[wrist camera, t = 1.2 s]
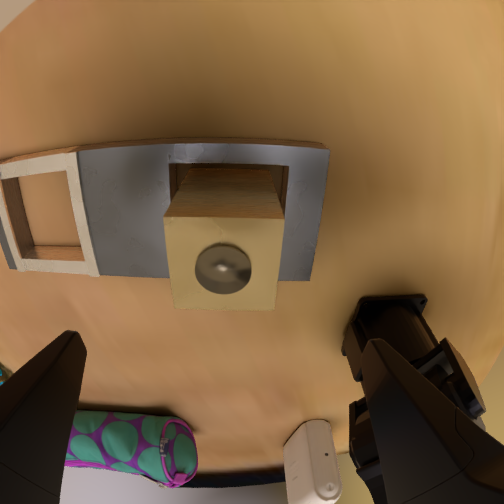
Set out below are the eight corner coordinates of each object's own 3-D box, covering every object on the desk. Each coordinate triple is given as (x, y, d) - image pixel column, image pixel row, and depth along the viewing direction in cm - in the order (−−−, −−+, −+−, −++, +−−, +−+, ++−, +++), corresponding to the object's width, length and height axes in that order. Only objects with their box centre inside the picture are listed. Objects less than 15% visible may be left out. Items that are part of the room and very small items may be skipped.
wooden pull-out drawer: (269, 170, 16) (285, 222, 10) (263, 239, 18) (274, 314, 13) (190, 168, 16) (161, 220, 10) (192, 237, 18) (173, 312, 12)
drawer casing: (321, 143, 15) (331, 150, 14) (304, 264, 20) (310, 282, 18) (-3, 161, 14) (-20, 170, 12) (21, 256, 18) (8, 270, 17)
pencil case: (174, 400, 28) (164, 479, 20) (201, 431, 33) (198, 497, 25) (46, 395, 30) (27, 450, 22) (81, 425, 35) (68, 475, 26)
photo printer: (302, 418, 31) (315, 510, 21) (333, 417, 32) (351, 503, 21) (278, 447, 37) (285, 520, 26) (305, 446, 37) (315, 517, 27)
